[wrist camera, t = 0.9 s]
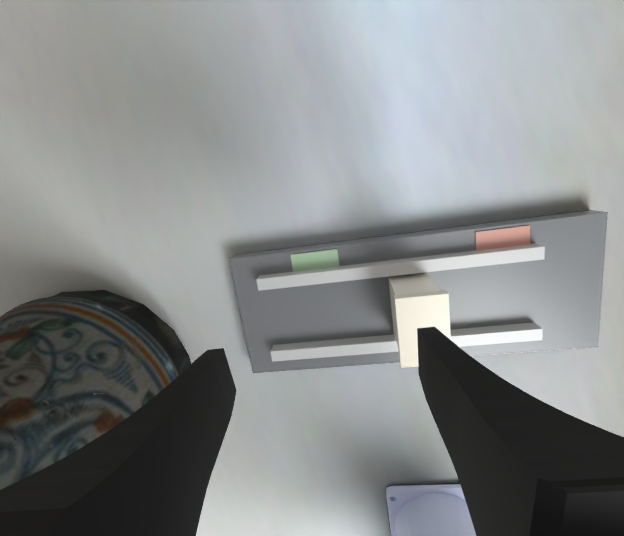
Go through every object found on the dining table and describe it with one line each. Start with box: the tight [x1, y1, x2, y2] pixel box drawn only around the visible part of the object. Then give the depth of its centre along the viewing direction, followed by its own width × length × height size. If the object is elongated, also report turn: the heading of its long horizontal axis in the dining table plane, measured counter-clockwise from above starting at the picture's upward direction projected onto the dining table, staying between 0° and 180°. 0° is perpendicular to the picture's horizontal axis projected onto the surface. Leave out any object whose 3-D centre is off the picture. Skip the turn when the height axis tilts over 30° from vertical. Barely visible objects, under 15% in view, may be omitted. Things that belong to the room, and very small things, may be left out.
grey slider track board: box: [229, 210, 608, 373], centre depth 23 cm, size 9×24×2 cm, turn 98°
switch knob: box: [388, 273, 451, 368], centre depth 21 cm, size 4×3×4 cm, turn 8°
